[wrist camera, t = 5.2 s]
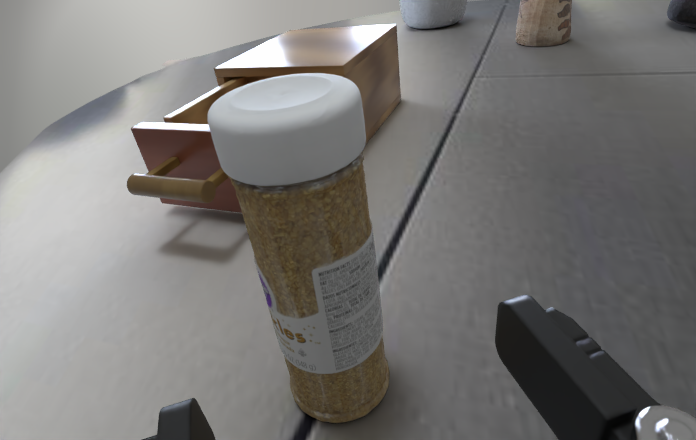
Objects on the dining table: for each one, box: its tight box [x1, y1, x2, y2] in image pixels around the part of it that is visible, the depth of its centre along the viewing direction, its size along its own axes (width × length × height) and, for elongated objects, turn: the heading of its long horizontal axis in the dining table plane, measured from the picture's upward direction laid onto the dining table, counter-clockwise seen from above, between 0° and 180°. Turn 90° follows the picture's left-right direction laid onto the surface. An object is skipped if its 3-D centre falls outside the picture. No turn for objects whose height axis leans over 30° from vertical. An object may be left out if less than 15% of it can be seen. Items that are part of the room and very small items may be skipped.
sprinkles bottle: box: [208, 73, 389, 423], centre depth 17 cm, size 5×5×13 cm
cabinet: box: [214, 24, 401, 145], centre depth 45 cm, size 15×13×8 cm
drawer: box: [127, 76, 277, 213], centre depth 35 cm, size 18×11×6 cm, turn 158°
